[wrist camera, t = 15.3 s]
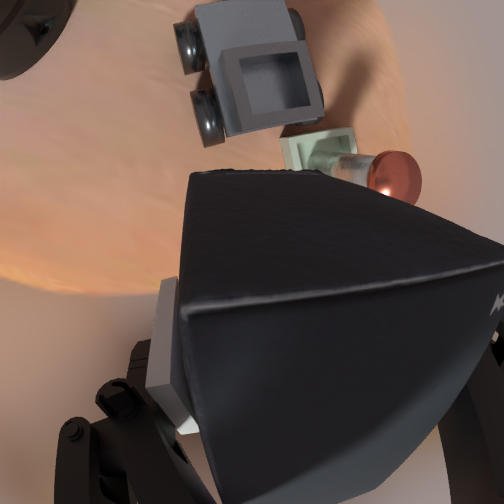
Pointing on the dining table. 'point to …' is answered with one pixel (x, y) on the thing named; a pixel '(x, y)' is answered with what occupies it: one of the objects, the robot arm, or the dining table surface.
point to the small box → (324, 329)
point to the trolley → (249, 68)
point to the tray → (316, 145)
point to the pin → (373, 171)
